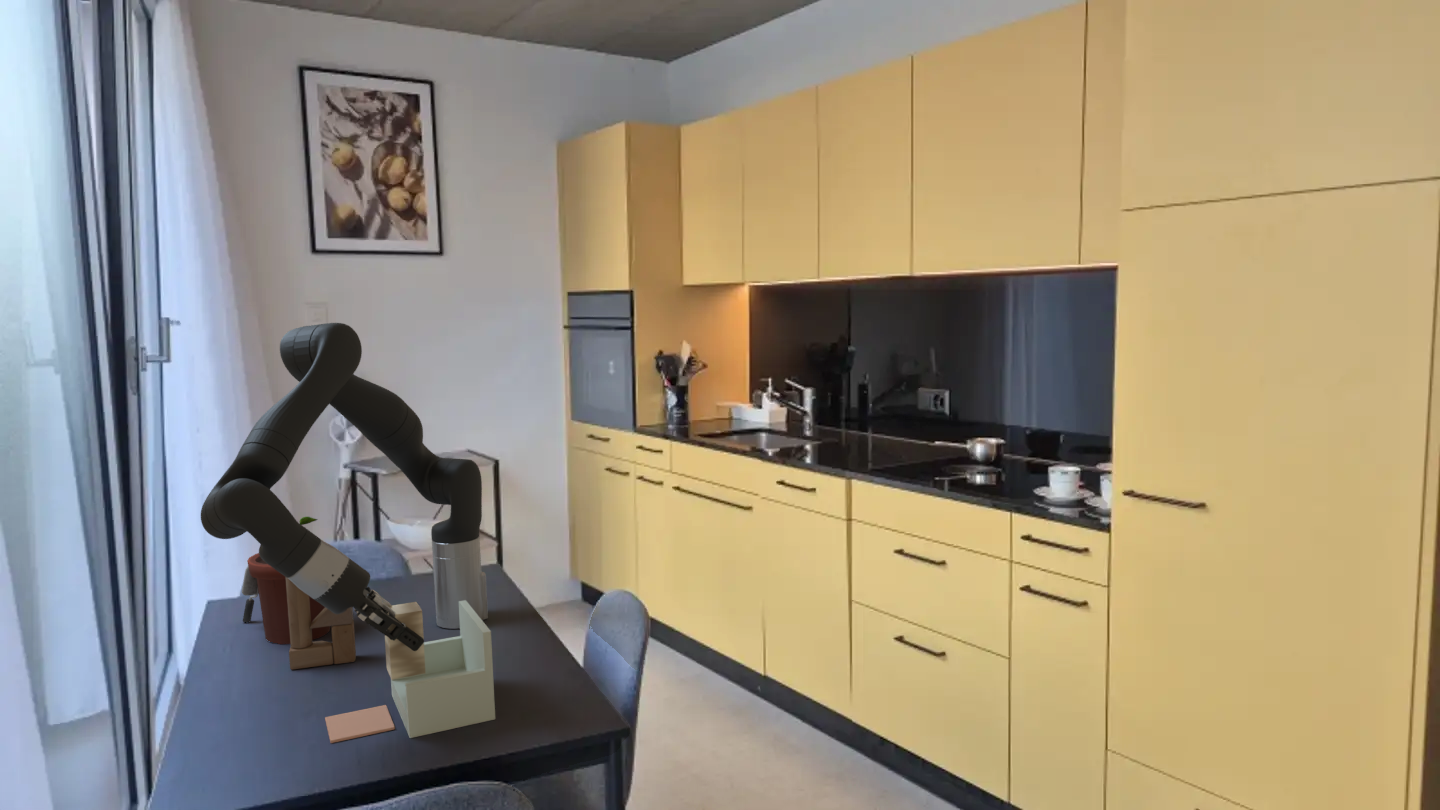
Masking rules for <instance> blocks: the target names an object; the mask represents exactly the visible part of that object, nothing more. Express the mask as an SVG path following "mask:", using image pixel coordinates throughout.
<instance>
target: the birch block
mask: <svg viewBox="0 0 1440 810" xmlns="http://www.w3.org/2000/svg"><path fill="white" fill-rule="evenodd" d="M391 605H392V604H391ZM390 608H391V609H392V610H393V611H395V612H396V618H397V619H399V620H400V621H401V622H404V623H405V624H406V626H407V627H408V628H410V629H411V630H412V631H414V632H415V633H417V634H418V635H419V636H421V637H422V638H423V639H424V638H425V637H424V622H423V621H424V619H423V610H422V608H421V606H420V605H419V604H418V603H417V601H413V602H412V601H411V602H406V603H399V604H393V605H392V606H391V607H390ZM388 615H389V613H388ZM395 627H396V625H395V624H391V625H390V627H389V628H388V629H389V630H390V631H392V630H393V629H394V628H395ZM424 640H425V639H424ZM384 644H385V646H384V647H385V663H386V670H387V673H388V676H389V677H390V681H391V680H393V679H398V678H404V677H409V676H414V675H420V674H425V655H424V643H423V644H422V645H421V647H420V648H419V649H418V650H417V651H413V650H411V649H410V648H409V647H407V646H406V645H405V644H403V643H402V642H400V641H399V640H398V639H395V641H394V640H391V639H390V638H389V637H387V636H386V635H384Z"/></svg>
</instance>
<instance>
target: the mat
mask: <svg viewBox="0 0 1440 810" xmlns="http://www.w3.org/2000/svg"><path fill="white" fill-rule="evenodd" d="M324 719H325V725H326V729H327V734H328V738H329V742H330V744H334V743H339V742H343V741H348V740H351V739H356V738H361V737H365V736H369V735H375V734H380V733H384V732H389V731H392V730H393V731H394V730H395V728H396V727H395V724H394V722H393V720H392V717H391V713H390V711H389V709H388V706H387V705H386V704H384V705H378V706H374V707H369V708H364V709H359V710H353V711H349V712H345V713H339V714H335V715H329V716H325V717H324Z"/></svg>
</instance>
